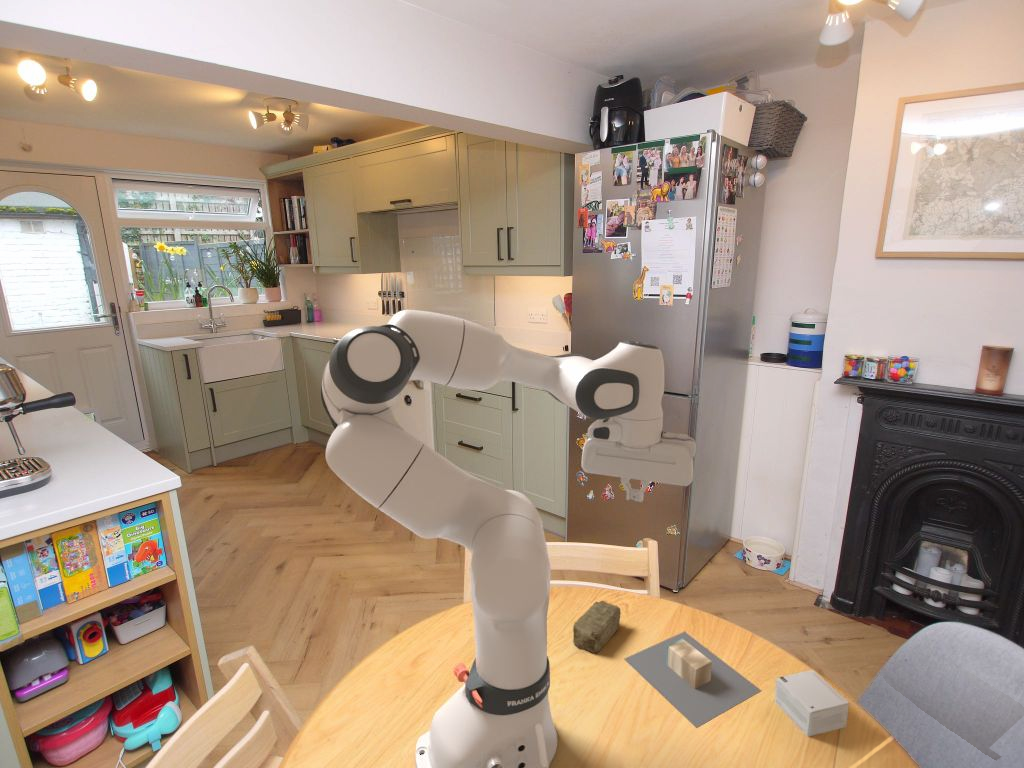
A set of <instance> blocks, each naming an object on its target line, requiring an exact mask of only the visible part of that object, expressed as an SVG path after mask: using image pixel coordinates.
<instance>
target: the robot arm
mask: <svg viewBox="0 0 1024 768" xmlns="http://www.w3.org/2000/svg"><path fill="white" fill-rule="evenodd" d="M411 381H428V382H431V383H434V384H437V385H441V386H446V387H450V388H454V389H459V390H467V391H483V392H484V391H486V390H487V391H488V389H490V388H492V387H494V386H495V385H496V384H497V383H498V382H512V383H513V382H514V383H517V384H520V385H525V386H529V387H533V388H537V389H538V388H539V389H542V390H543V391H545V392H547V393H548V394H549V395H550V396H551V397H552V398H553V399H555V400H556V401H557V402H560V403H562V404H563V405H566V406H567V407H569V408H571V409H572V410H574V411H576V412H578V413H579V414H581V415H582V416H584V417H586V418H589V419H592V420H595V421H594V422H592V423H591V424H590V425H589V426H588V428H587V437H588V438H587V439H586V441H585V442H584V444H583V447H582V454H581V468H582V470H583V472H584V473H587V474H595V475H600V476H601V475H602V476H607V477H616V478H620V484H621V486H622V487H623V489H624V491H625V492H626V497H625V499H626V500H627V501H634V502H640V503H642V502H643V501H644V493H645V492H646V491H647V489H648V487H649V486H650V484H651V482H653V483H658V484H659V483H660V484H666V485H675V486H680V487H688V486H689V485H690V484H691V483H692V482H693V480H694V461H693V459H694V457H695V456H696V454H697V447H698V446H697V443H696V440H695V439H694V438H692V437H691V436H689V434H686V433H676V432H675V433H674V432H671V431H670V432H669V431H668V432H667V431H663V423H664V421H663V420H664V411H663V408H662V399H663V396H664V393H665V363H664V357H663V352H662V351H661V349H660V348H659V347H658V346H656V345H653V344H650V343H644V342H641V341H640V342H639V341H633V340H623V341H620V342H618V344H617V346H616V347H614V349H612V350H611V351H609V352H608V353H607V354H605V355H603V356H601V357H600V358H597V359H595V360H592V359H591V358H588V357H587V356H585V355H584V354H579V353H574V352H573V353H564V354H559V355H547V354H543V353H539V352H535V351H531V350H527V349H525V348H520V347H518V346H515V345H512V344H511V343H509V342H507V341H506V340H505V339H504V337H503V335H501V334H499V333H498V332H496V331H494V330H492V329H491V328H488V327H486V326H484V325H481V324H479V323H476V322H474V321H472V320H468V319H464V318H461V317H457V316H453V315H449V314H444V313H439V312H435V311H434V312H433V311H428V310H427V311H426V310H418V309H403V310H399V311H398V312H396V313H395V314H394V315H392V317H391V318H390V320H388V322H387V324H384V325H378V326H375V325H373V326H364V327H359V328H356V329H354V330H352V331H349V332H348V333H346V334H345V335H344V336H342V337H340V339H339V340H338V342H336V344H335V345H334V347H333V348H332V351H331V353H330V356H329V360H328V361H327V363H326V364H325V366H324V369H323V372H322V380H321V387H320V396H321V397H320V398H321V402H322V406H323V409H324V411H325V412H326V415H327V416H328V418H329V420H330V422H331V424H332V426H333V431H332V433H331V434H330V436H329V439H328V440H327V443H326V448H325V460H326V465H328V467H329V468H330V470H331V471H332V472H333V473H334V474H335V475H336V476H337V477H338V478H339V479H340V481H342V482H343V483H345V485H346V486H347V487H349V488H350V489H351V490H352V491H353V492H355V493H356V494H357V495H358V496H359V497H361V498H362V499H363V500H364V501H366V502H367V503H368V504H370V505H371V506H373V507H374V508H376V509H377V510H379V511H380V512H382V513H384V514H385V515H386V516H388V517H390V518H391V519H393V520H394V521H396V522H397V523H399V524H400V525H401V526H403V527H405V528H406V529H408V530H409V531H411V532H412V533H413V534H415V535H416V536H418V537H420V538H422V539H427V540H430V539H431V540H432V539H435V538H438V539H444V540H446V541H451V542H452V543H456V544H458V545H460V546H462V547H465V549H467V550H468V551H469V552H470V553H471V554H470V556H471V558H470V565H469V566H470V567H469V576H470V577H469V579H470V590H471V591H470V592H471V593H470V594H471V605H472V612H473V621H474V622H473V623H474V646H475V647H474V649H475V652H474V653H475V657H474V660H473V663H472V665H471V668H470V670H468V669H467V666H466V665H465V664H464V663H462V662H461V663H457V664H456V665H455V667H453V674H454V676H455V677H456V678H457V680H458V682H460V683H464V684H463V685H462V686H461V687H460V688H459V689H458V690H457V691H456V692H455V693H454V694H453V695H452V696H451V697H450V698H449V699H448V700H447V701H446V702H445V703H444V704H443V705H442V706H441V707H440V708H439V709H438V710H437V711H436V712H435V713H434V714H433V717H432V719H431V720H432V721H431V724H430V729H429V730H428V731H427V732H425V733H423V734H422V735H420V737H419V738H417V742H416V745H415V753H414V754H415V755H414V758H415V759H414V761H416V763H415V768H416V767H417V768H550V765H551V763H552V760H553V759H554V757H555V755H556V752H557V747H558V733H557V730H556V727H555V724H554V721H553V718H552V712H551V707H550V700H549V690H550V686H551V669H550V667H551V665H550V660H549V656H548V613H549V603H550V594H551V592H550V591H551V590H550V589H551V572H552V571H551V561H550V556H549V551H548V547H547V545H548V544H547V541H546V538H545V537H546V536H545V532H544V531H545V530H544V526H543V520H542V518H541V515H540V513H539V510H538V509H537V507H536V506H535V505H534V504H533V502H532V500H531V499H530V498H529V497H528V496H526V494H524V493H522V492H520V491H518V490H512V489H503V488H502V487H500V486H498V485H495V484H492V483H490V482H488V481H486V480H483V479H482V478H481V479H480V478H478V477H477V476H474V475H472V474H470V473H469V472H467V471H465V470H464V469H462V468H460V467H459V466H457V465H456V464H455V463H453V462H452V461H451V460H449V459H447V458H446V457H445V456H443V455H442V454H440V453H439V452H438V451H436V450H434V449H433V448H432V447H430V446H429V445H427V444H426V443H424V442H423V441H421V440H420V439H418V438H417V437H415V436H414V435H412V434H410V433H409V432H407V431H406V430H405V429H404V428H403V427H402V426H401V425H400V423H399V422H398V421H397V419H396V418H395V416H394V414H393V411H392V407H393V406H394V405H395V404H396V402H397V400H398V399H399V397H400V395H401V393H402V391H403V390H404V389H405V387H406V386H407V384H408V382H411ZM631 479H632V480H638V481H640V485H641V486H642V487H641V488H640V489H638V488H632V486H631V484H630V480H631ZM421 753H424V754H421ZM420 754H421V755H420Z"/></svg>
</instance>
